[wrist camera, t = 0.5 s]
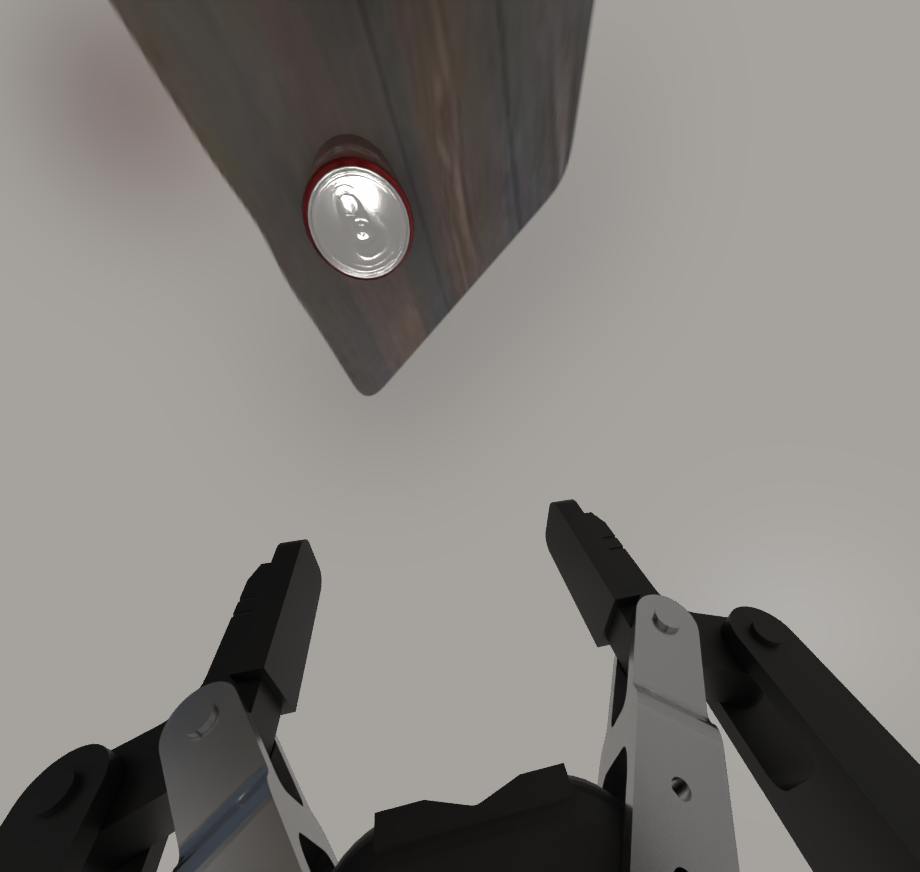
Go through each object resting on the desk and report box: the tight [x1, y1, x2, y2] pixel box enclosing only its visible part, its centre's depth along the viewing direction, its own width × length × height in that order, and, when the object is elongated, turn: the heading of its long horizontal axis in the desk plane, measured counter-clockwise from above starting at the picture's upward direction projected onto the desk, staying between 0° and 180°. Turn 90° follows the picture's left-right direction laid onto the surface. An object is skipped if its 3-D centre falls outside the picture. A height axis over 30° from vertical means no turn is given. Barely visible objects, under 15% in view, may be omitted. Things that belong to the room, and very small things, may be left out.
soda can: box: [302, 135, 414, 280], centre depth 26 cm, size 7×7×12 cm
